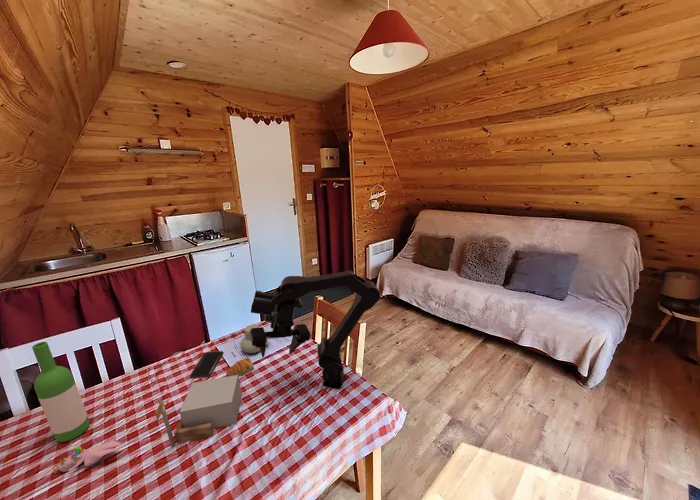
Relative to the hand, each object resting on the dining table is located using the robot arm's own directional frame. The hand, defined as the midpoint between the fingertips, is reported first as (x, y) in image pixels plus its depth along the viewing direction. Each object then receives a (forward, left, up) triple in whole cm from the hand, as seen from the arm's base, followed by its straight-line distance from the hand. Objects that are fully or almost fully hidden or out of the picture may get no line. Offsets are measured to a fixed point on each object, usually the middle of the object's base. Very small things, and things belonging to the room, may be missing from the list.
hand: (276, 355), depth 98 cm
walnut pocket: (+16, +20, -12) cm, 28 cm away
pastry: (+19, -4, -13) cm, 23 cm away
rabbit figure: (+35, +38, -13) cm, 53 cm away
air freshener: (+23, -17, -13) cm, 31 cm away
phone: (+35, -3, -13) cm, 37 cm away
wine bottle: (+51, +33, -13) cm, 62 cm away
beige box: (+14, +16, -13) cm, 24 cm away
